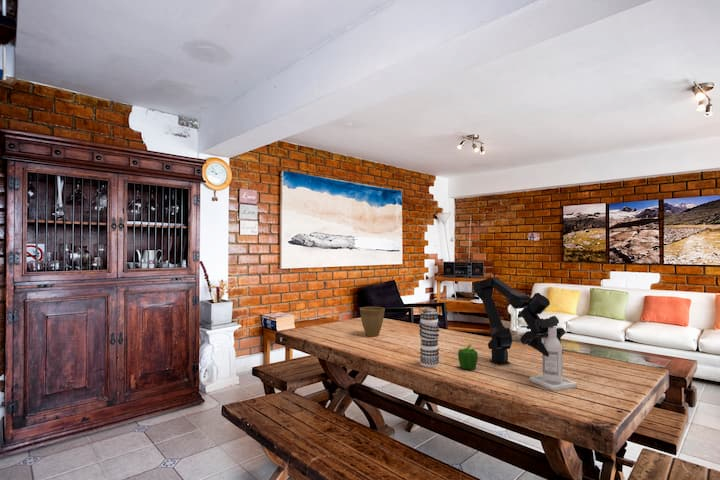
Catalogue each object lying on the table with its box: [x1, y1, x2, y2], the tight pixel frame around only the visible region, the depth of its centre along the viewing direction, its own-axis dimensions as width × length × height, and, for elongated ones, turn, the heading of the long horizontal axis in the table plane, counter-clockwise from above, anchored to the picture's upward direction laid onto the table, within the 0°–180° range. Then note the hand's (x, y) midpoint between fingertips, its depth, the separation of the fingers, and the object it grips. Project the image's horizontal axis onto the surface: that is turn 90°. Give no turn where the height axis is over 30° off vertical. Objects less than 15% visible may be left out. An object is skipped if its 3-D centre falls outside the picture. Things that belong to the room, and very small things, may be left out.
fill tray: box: [529, 374, 578, 392], centre depth 154 cm, size 12×12×2 cm
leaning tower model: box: [418, 307, 441, 368], centre depth 181 cm, size 9×9×25 cm
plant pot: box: [359, 306, 386, 338], centre depth 237 cm, size 15×15×16 cm
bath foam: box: [542, 326, 564, 382], centre depth 155 cm, size 7×7×20 cm
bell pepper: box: [457, 343, 479, 370], centre depth 175 cm, size 8×8×10 cm
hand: (555, 355), depth 153 cm, fingers closed on bath foam, 7 cm apart
